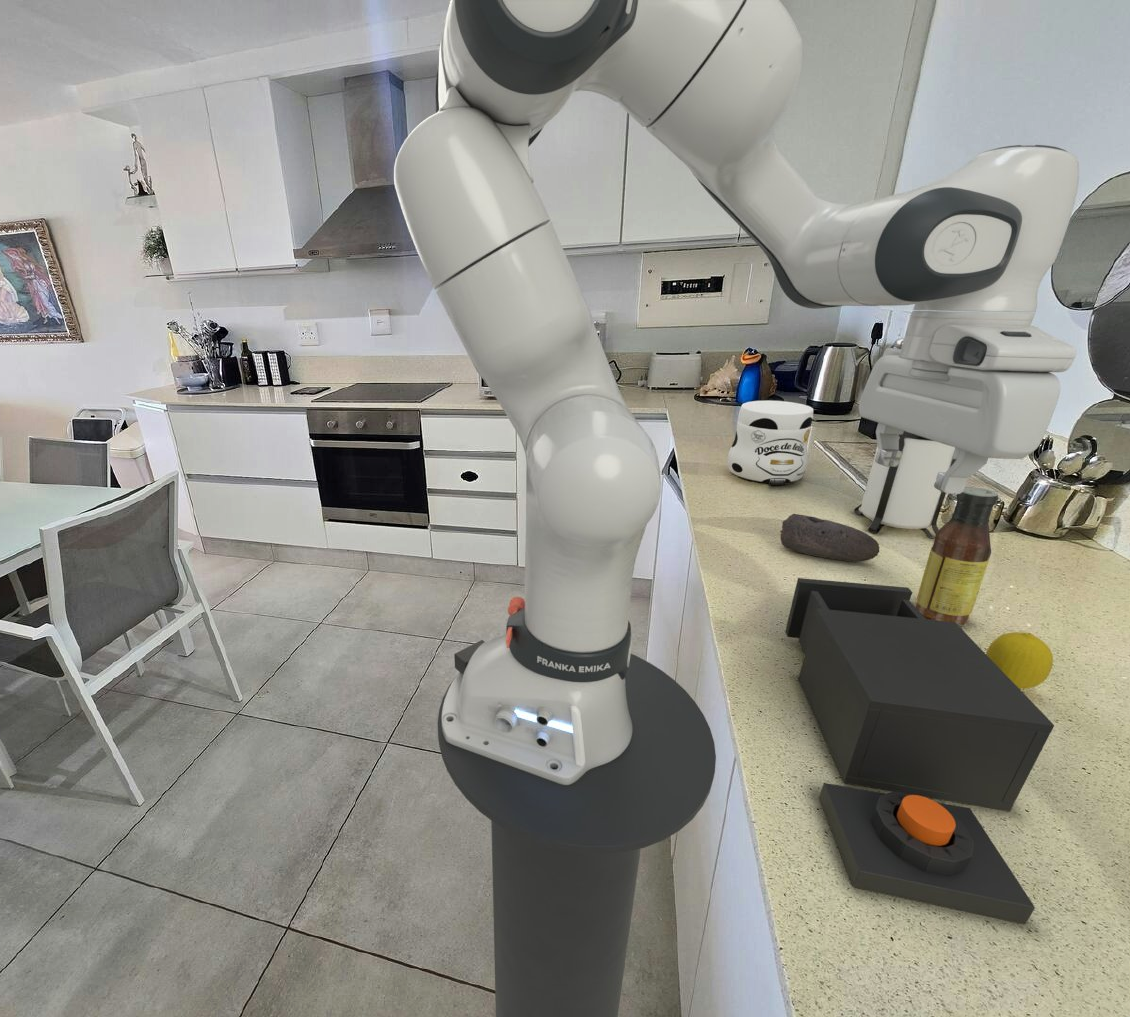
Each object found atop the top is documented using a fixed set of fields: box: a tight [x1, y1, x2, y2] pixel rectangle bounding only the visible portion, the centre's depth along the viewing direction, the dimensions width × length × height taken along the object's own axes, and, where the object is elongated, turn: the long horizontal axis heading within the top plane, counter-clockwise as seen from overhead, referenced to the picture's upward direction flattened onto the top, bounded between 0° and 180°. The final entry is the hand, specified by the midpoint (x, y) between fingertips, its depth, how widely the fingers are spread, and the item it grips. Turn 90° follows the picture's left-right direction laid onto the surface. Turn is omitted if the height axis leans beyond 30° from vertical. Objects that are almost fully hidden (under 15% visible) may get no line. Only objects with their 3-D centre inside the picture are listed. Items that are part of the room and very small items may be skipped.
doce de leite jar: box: [727, 400, 814, 486], centre depth 133 cm, size 17×17×18 cm
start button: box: [897, 795, 956, 846], centre depth 47 cm, size 4×4×2 cm
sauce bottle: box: [915, 486, 999, 626], centre depth 78 cm, size 7×6×20 cm
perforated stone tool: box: [779, 513, 880, 562], centre depth 98 cm, size 15×5×7 cm, turn 54°
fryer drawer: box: [784, 577, 927, 655], centre depth 69 cm, size 19×13×9 cm
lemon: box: [985, 631, 1054, 690], centre depth 66 cm, size 6×6×8 cm
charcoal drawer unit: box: [797, 608, 1055, 812], centre depth 59 cm, size 16×14×11 cm
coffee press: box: [853, 431, 956, 540], centre depth 105 cm, size 17×16×30 cm
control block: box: [818, 782, 1036, 925], centre depth 48 cm, size 12×9×4 cm
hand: (914, 477), depth 58 cm, fingers open, 8 cm apart
